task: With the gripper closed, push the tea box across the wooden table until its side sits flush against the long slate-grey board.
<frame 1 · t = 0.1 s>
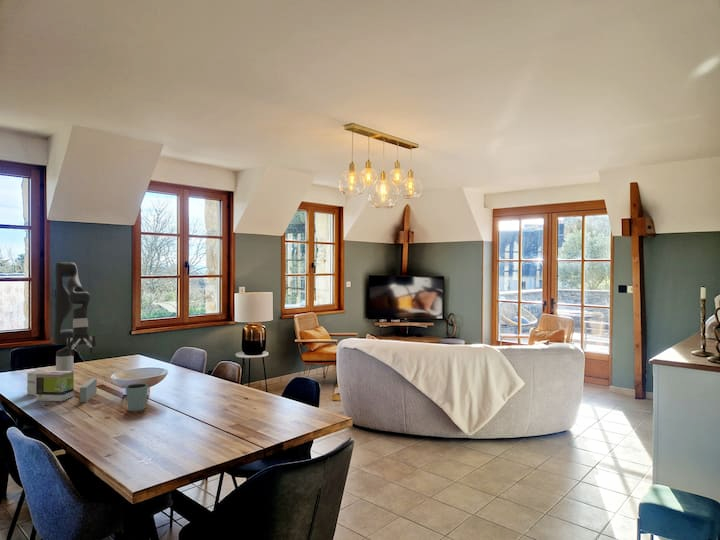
hand: (81, 355, 277), 22 cm above the table, tool pointing down, fingers open, 8 cm apart
stop board: (88, 397, 273), on the table
tea box: (55, 399, 268), on the table
grey green open cylinder: (136, 409, 252), on the table
supplement box: (37, 394, 278), on the table
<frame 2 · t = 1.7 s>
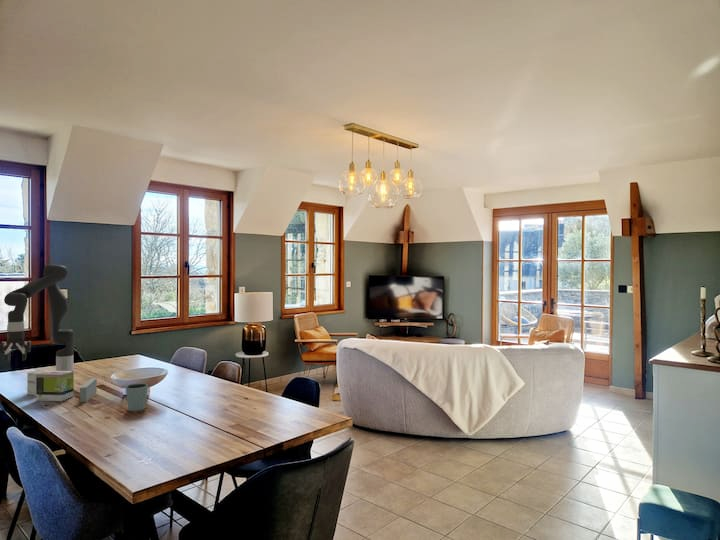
hand: (15, 360, 263), 22 cm above the table, tool pointing down, fingers open, 7 cm apart
nothing on the table moved.
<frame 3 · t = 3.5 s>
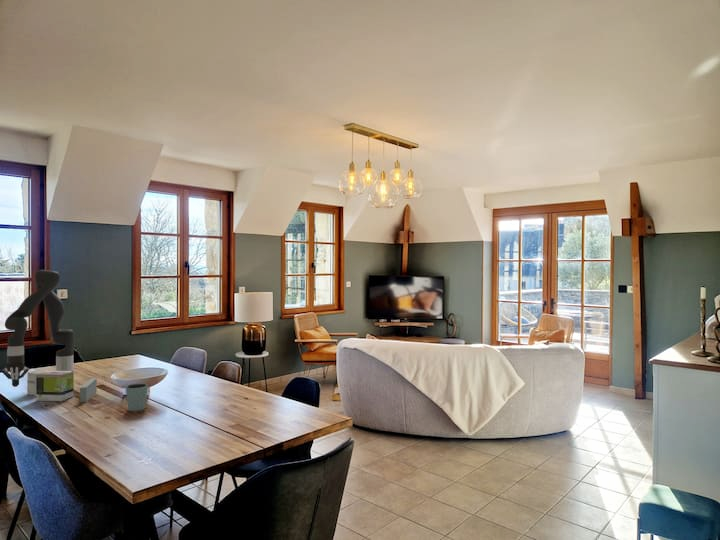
hand: (15, 386, 263), 8 cm above the table, tool pointing down, fingers closed
nothing on the table moved.
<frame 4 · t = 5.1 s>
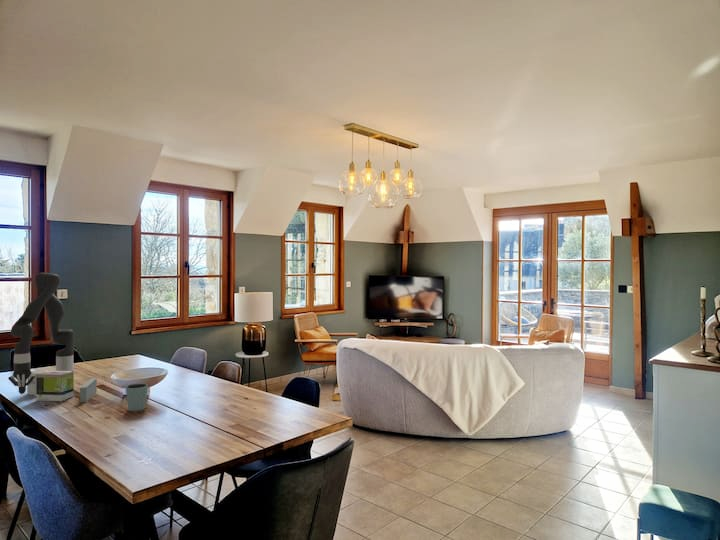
hand: (22, 393, 264), 4 cm above the table, tool pointing down, fingers closed
nothing on the table moved.
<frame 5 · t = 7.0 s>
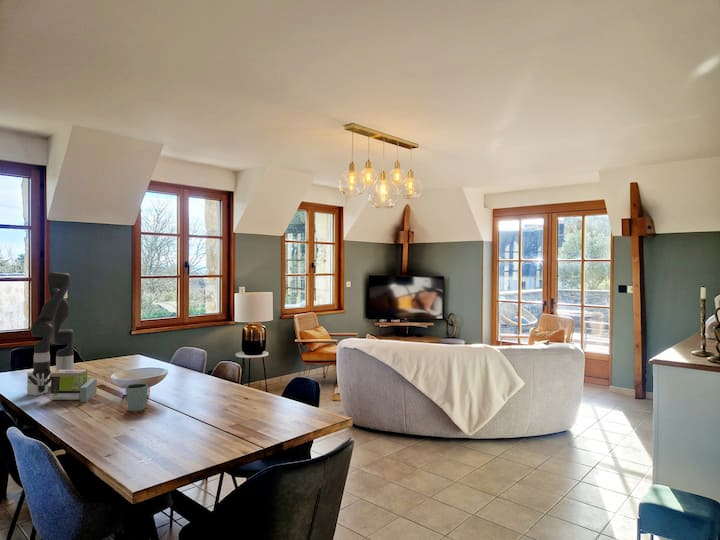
hand: (41, 392, 266), 4 cm above the table, tool pointing down, fingers closed
tea box: (68, 398, 270), on the table, touching hand
everything else where it was.
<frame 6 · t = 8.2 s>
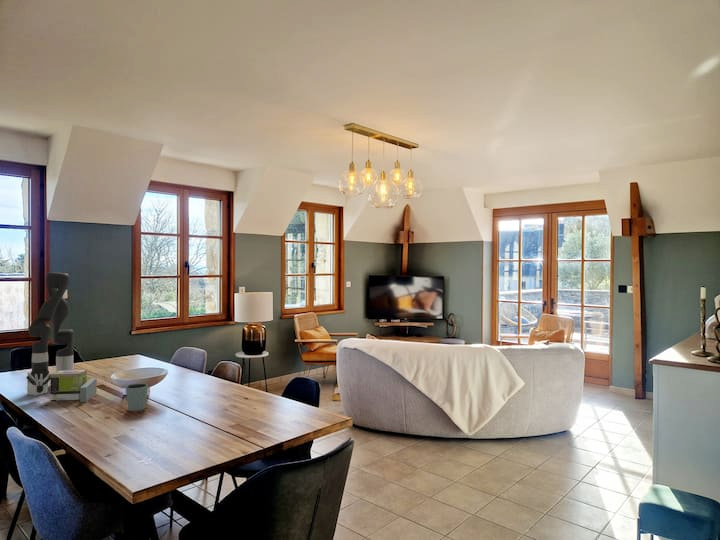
hand: (39, 392, 266), 4 cm above the table, tool pointing down, fingers closed
tea box: (68, 398, 270), on the table
everything else where it was.
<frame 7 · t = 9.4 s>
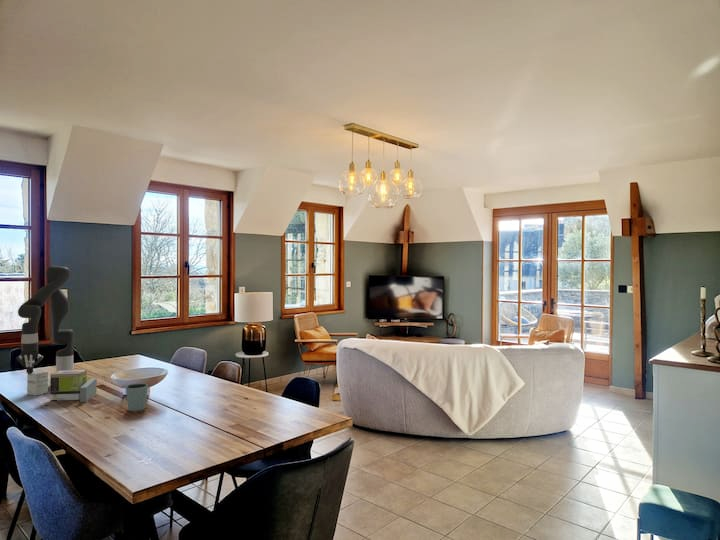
hand: (29, 373, 265), 14 cm above the table, tool pointing down, fingers closed
nothing on the table moved.
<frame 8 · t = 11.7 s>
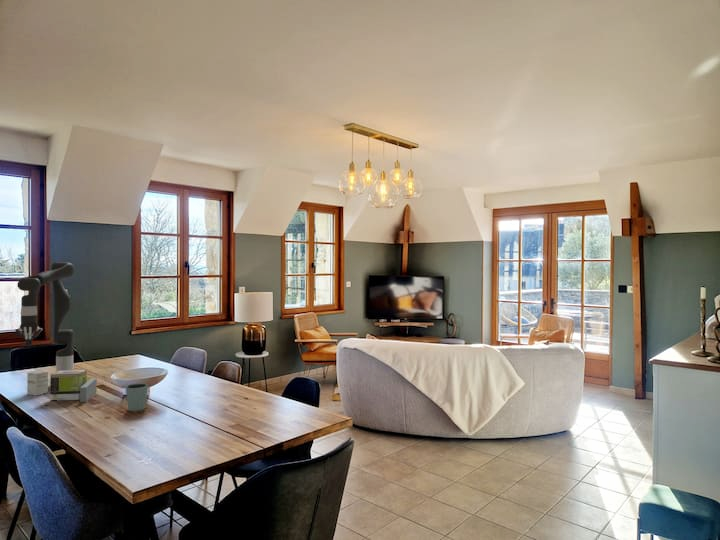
hand: (29, 345, 268), 29 cm above the table, tool pointing down, fingers closed
nothing on the table moved.
at the end: tea box inside the target area on the table beside the stop board (0.4 cm from its centre), on the table; tea box tilted 0° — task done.
